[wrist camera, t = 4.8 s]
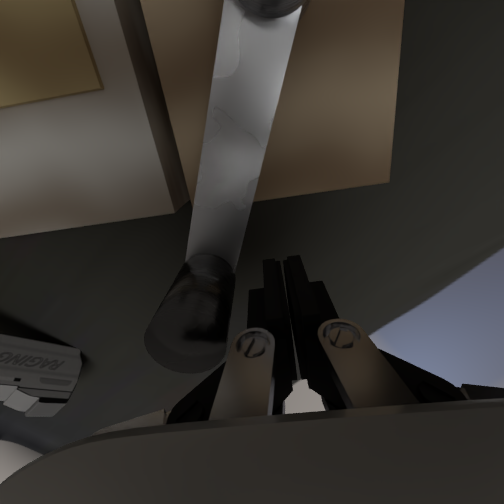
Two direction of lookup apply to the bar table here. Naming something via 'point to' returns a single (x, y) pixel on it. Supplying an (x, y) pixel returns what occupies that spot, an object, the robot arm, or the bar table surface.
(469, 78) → the bar table surface
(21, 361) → the revolver
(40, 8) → the wooden latch block
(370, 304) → the bar table surface
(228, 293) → the bar
